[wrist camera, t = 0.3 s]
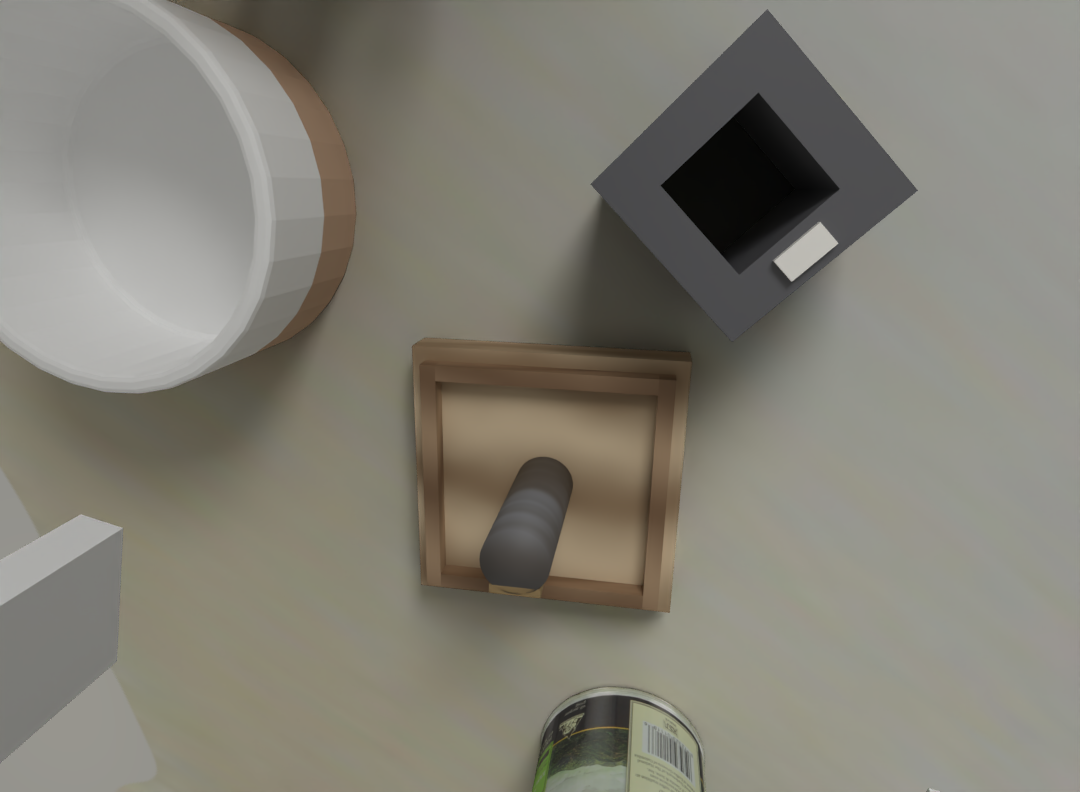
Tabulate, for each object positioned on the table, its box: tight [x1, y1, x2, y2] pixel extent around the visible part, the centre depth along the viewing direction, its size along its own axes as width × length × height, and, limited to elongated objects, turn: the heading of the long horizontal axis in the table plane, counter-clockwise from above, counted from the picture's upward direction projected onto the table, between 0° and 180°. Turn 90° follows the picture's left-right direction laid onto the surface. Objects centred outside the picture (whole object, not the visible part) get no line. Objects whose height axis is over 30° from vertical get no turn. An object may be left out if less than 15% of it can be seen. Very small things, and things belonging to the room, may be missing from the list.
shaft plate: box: [412, 338, 692, 613], centre depth 32 cm, size 14×14×10 cm
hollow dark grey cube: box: [591, 9, 918, 342], centre depth 28 cm, size 8×8×8 cm
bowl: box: [0, 0, 356, 394], centre depth 32 cm, size 17×17×8 cm
